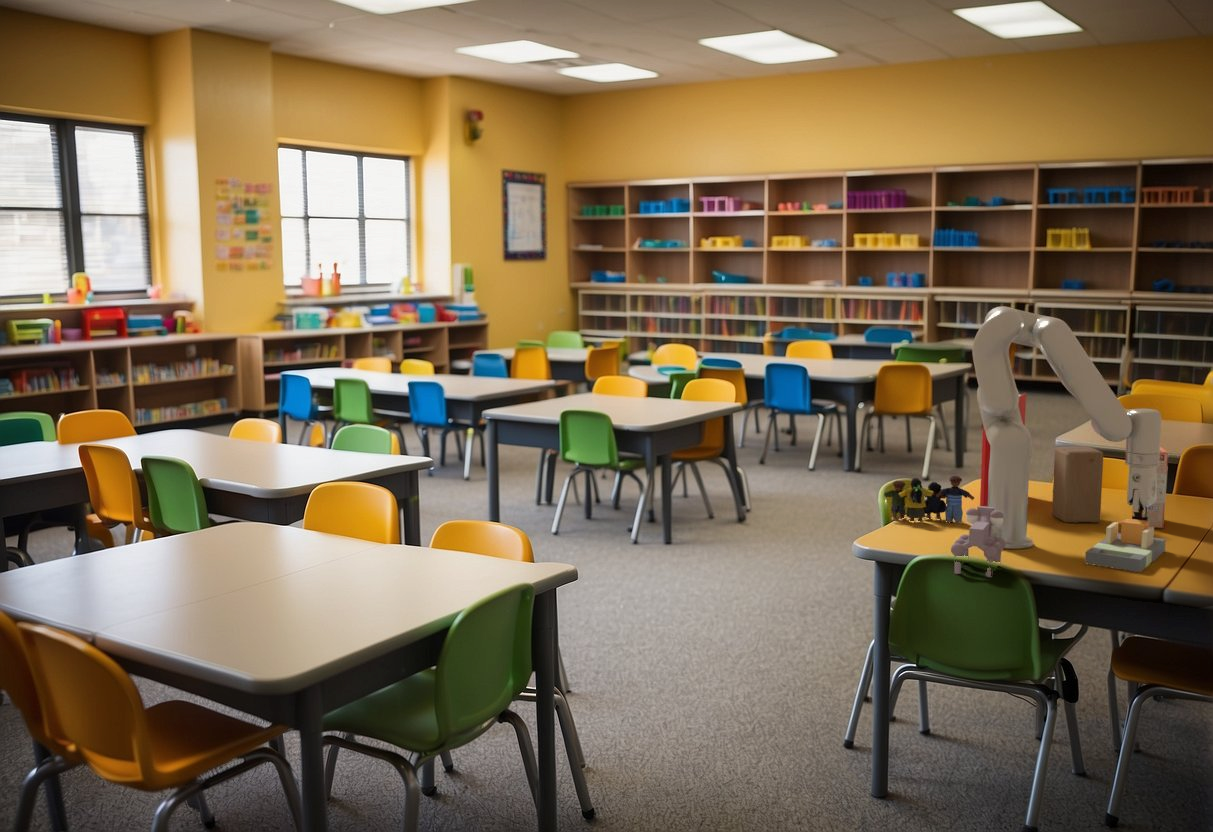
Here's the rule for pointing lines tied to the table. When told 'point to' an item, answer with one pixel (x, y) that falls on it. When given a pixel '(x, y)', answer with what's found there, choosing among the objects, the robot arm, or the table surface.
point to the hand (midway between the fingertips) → (1139, 532)
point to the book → (987, 455)
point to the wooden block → (1077, 484)
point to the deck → (1125, 550)
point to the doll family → (928, 500)
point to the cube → (1133, 530)
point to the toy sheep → (980, 536)
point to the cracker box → (1159, 493)
